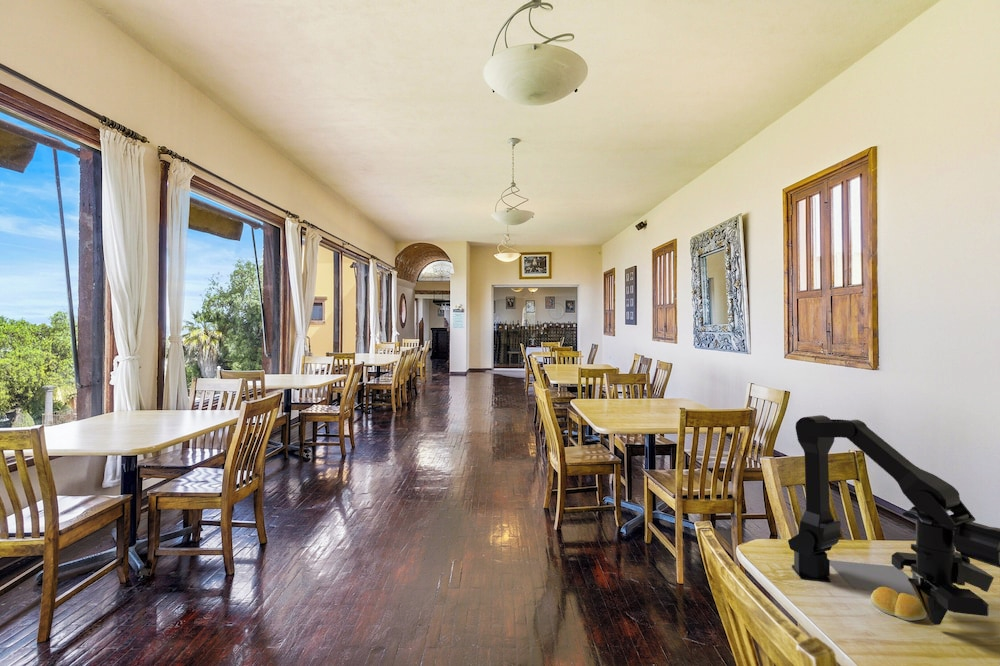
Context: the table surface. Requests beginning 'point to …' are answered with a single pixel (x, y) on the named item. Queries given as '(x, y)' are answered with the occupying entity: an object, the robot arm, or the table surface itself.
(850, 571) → the serving mat
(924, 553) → the robot arm
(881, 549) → the table surface
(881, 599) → the bread roll
